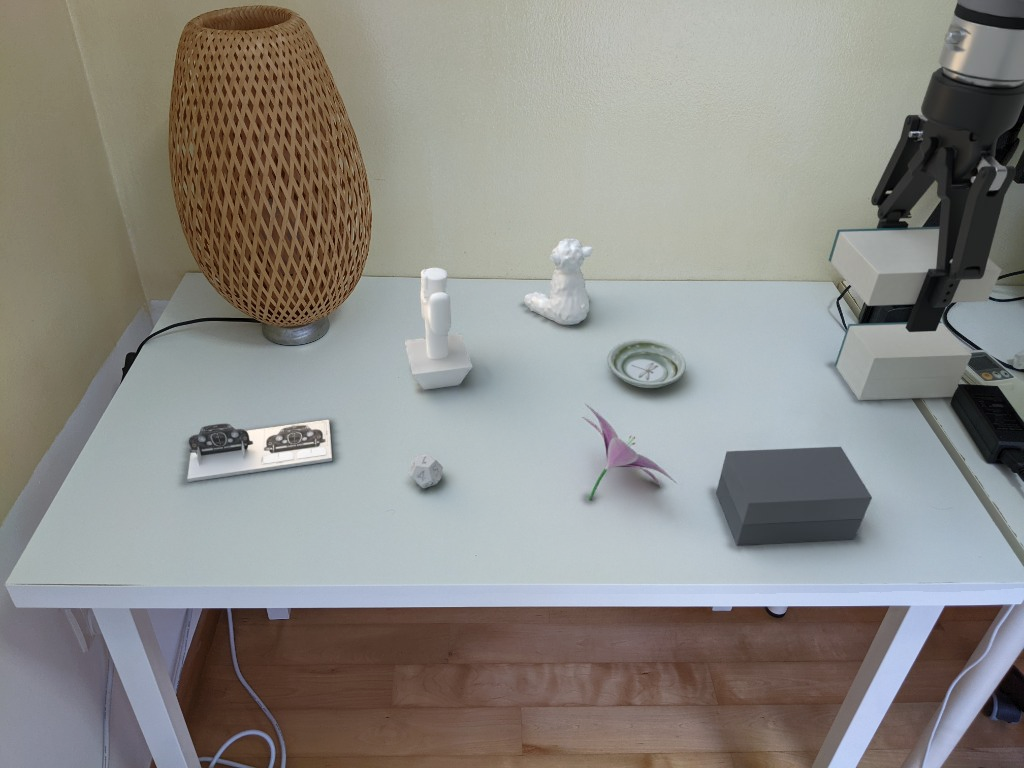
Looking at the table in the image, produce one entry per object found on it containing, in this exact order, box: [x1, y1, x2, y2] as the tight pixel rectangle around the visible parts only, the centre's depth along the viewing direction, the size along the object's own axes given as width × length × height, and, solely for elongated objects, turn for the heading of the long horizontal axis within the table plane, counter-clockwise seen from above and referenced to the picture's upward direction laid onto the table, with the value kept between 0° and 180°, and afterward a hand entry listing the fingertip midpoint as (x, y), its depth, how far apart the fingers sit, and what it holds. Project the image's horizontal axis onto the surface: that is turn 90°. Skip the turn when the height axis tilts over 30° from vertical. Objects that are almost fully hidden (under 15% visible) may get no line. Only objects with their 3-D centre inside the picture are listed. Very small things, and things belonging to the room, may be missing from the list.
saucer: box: [606, 338, 687, 389], centre depth 97 cm, size 10×10×2 cm
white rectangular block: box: [834, 320, 973, 401], centre depth 96 cm, size 12×7×6 cm, turn 94°
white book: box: [828, 226, 1002, 307], centre depth 76 cm, size 12×9×4 cm
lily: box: [581, 402, 678, 501], centre depth 80 cm, size 12×12×10 cm
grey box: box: [715, 446, 873, 546], centre depth 77 cm, size 12×7×6 cm, turn 94°
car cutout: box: [186, 418, 333, 483], centre depth 84 cm, size 15×7×4 cm, turn 103°
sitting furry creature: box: [524, 237, 594, 326], centre depth 105 cm, size 10×9×12 cm
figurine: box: [403, 267, 474, 391], centre depth 92 cm, size 7×9×15 cm
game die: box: [407, 453, 444, 489], centre depth 82 cm, size 4×4×3 cm
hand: (896, 302), depth 79 cm, fingers closed on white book, 9 cm apart
